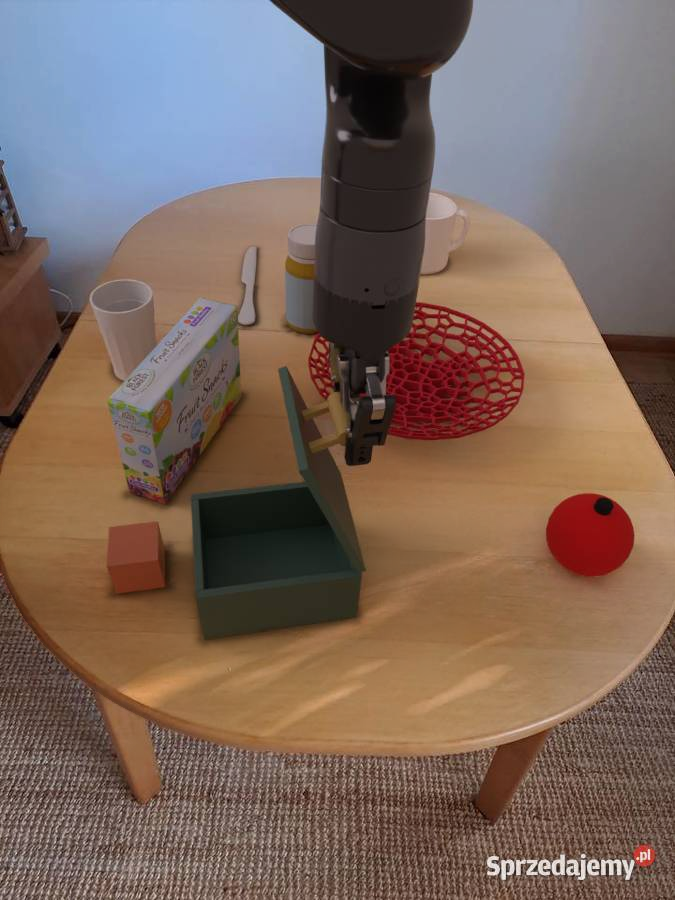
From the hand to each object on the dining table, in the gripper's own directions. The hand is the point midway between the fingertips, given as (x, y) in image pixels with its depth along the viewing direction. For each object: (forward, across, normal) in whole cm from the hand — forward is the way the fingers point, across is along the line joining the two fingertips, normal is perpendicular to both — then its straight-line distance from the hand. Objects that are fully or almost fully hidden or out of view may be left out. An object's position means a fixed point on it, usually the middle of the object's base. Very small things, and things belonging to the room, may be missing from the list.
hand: (350, 438), depth 59 cm
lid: (+4, 0, -3) cm, 5 cm away
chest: (+20, 0, -7) cm, 21 cm away
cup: (+20, -38, -22) cm, 48 cm away
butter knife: (+20, -58, -4) cm, 62 cm away
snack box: (+20, -22, -15) cm, 34 cm away
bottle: (+20, -46, +4) cm, 50 cm away
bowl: (+20, -28, +16) cm, 38 cm away
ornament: (+20, +3, +27) cm, 34 cm away
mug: (+20, -62, +28) cm, 71 cm away
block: (+20, -3, -21) cm, 29 cm away
